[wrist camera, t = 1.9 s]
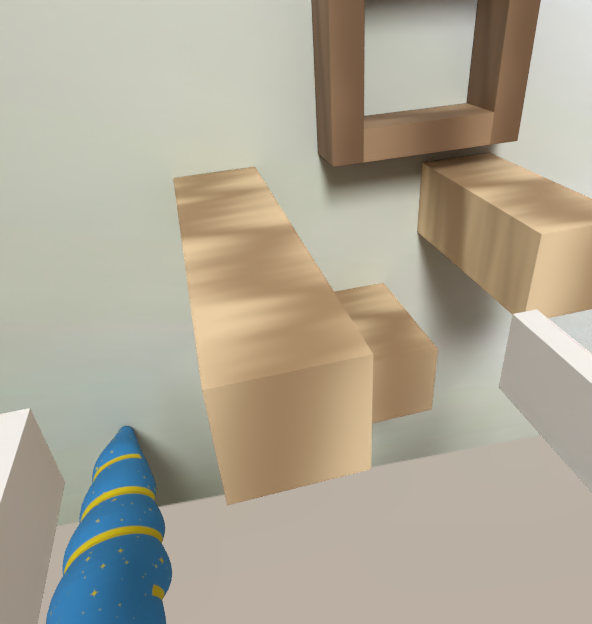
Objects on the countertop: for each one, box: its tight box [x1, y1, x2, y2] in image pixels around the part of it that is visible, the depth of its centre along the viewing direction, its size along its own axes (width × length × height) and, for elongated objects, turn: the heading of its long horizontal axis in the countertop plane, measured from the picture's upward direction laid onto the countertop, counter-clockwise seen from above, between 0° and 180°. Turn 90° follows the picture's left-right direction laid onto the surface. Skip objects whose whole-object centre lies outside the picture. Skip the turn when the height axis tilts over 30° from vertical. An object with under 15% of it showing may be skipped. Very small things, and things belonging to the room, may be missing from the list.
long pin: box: [173, 167, 373, 505], centre depth 19 cm, size 4×4×16 cm
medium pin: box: [417, 153, 592, 318], centre depth 24 cm, size 4×4×10 cm
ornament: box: [46, 426, 172, 624], centre depth 25 cm, size 5×5×15 cm
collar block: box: [312, 0, 541, 167], centre depth 23 cm, size 10×10×2 cm
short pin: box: [334, 283, 438, 423], centre depth 28 cm, size 4×4×7 cm
